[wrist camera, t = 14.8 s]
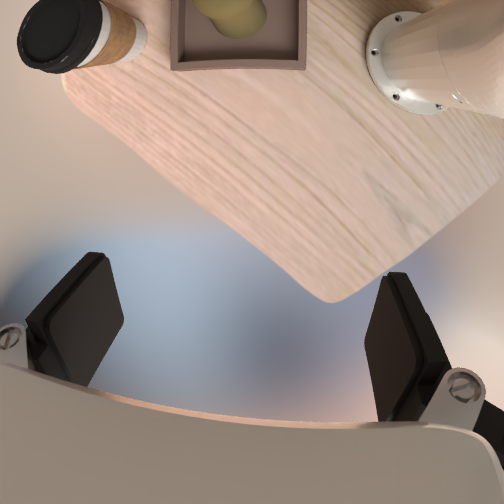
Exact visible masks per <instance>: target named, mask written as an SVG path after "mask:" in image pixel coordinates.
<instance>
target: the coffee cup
mask: <svg viewBox="0 0 504 504" xmlns="http://www.w3.org/2000/svg"><path fill="white" fill-rule="evenodd" d="M146 41H147V31H146V28H145V26H144V25H143V24H142V23H141V22H140V21H138V20H137V19H135V18H133V17H131V16H129V15H128V14H126V13H125V12H123V11H121V10H119V9H118V8H116V7H114V6H112V5H110V4H109V3H107V2H105V1H103V0H40V1H38V2H37V3H36V4H35V5H34V6H33V7H32V8H31V9H30V10H29V11H28V13H27V15H26V16H25V18H24V20H23V22H22V24H21V27H20V30H19V33H18V37H17V47H18V52H19V55H20V57H21V59H22V61H23V62H24V63H25V64H26V65H27V66H29V67H31V68H34V69H40V70H42V71H44V72H47V73H55V74H60V73H65V72H68V71H70V70H72V69H80V68H86V67H92V66H99V65H106V64H111V63H123V62H128V61H130V60H133V59H134V58H136V57H137V56H138V55H139V54H140V53H141V52H142V50H143V49H144V47H145V44H146Z"/></svg>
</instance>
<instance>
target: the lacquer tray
mask: <svg viewBox="0 0 504 504" xmlns="http://www.w3.org/2000/svg"><path fill="white" fill-rule="evenodd" d="M261 1H262V2H263V4H264V5H265V7H266V12H267V17H266V22H265V24H264V26H263V27H262V29H261V30H260V31H259V32H257V33H256V34H255V35H253V36H251V37H249V38H244V39H231V38H228V37H225V36H223V35H222V34H220V33H219V32H218V31H217V30H216V28H215V27H214V25H213V23H212V21H211V19H210V18H209V17H207V16H205V15H203V14H202V13H201V12H199V11H198V10H197V9H196V8H195V6H194V5H193V3H192V0H172V9H171V70H172V71H190V70H207V69H240V68H256V69H289V70H305V69H306V49H307V0H261Z"/></svg>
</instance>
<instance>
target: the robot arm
mask: <svg viewBox="0 0 504 504" xmlns="http://www.w3.org/2000/svg"><path fill="white" fill-rule="evenodd" d="M395 18H396V19H398V22H397V21H396V20H395ZM371 51H374V52H375V55H372V54H371ZM366 60H367V66H368V69H369V73H370V75H371V77H372V79H373V81H374V83H375V85H376V86H377V88H378V89H379V91H380V92H381V93H382V94H383V95H384V96H385V97H386V98H387V99H388V100H389V101H390V102H392V103H393V104H394V105H396V106H397V107H399V108H401V109H403V110H405V111H408V112H411V113H416V114H421V115H431V114H436V113H440V112H442V111H444V110H446V109H448V108H449V107H455V108H459V109H464V110H469V111H473V112H477V113H482V114H486V115H490V116H494V117H498V118H503V119H504V0H452V1H450V2H448V3H445V4H443V5H441V6H438V7H436V8H434V9H432V10H430V11H427V12H425V13H423V14H422V13H418V12H413V11H401V12H397V13H393V14H391V15H389V16H387V17H385V18H383V19H382V20H381V21H379V22H378V23H377V25H376V26H375V27H374V28H373V30H372V31H371V33H370V35H369V38H368V41H367V45H366ZM393 95H396V98H395V99H394V98H393ZM436 104H437V105H438V106H437V107H436ZM25 320H26V322H27V324H28V328H27V329H26V330H25V328H24V327H23V326H22V325H20V324H9V325H6V326H4V327H2V328H1V329H0V504H504V411H502V410H501V409H499V408H497V407H496V406H494V405H493V404H491V403H489V402H488V401H486V400H485V399H484V398H485V394H486V390H485V385H484V384H483V382H482V380H481V378H480V377H479V376H478V375H477V374H475V373H474V372H473V371H471V370H468V369H465V368H454V369H452V367H451V365H450V362H449V360H448V357H447V355H446V353H445V350H444V348H443V346H442V343H441V341H440V339H439V337H438V334H437V332H436V330H435V328H434V326H433V324H432V321H431V319H430V317H429V315H428V314H427V313H426V312H425V310H424V308H423V306H422V303H421V301H420V299H419V297H418V295H417V293H416V292H415V289H414V287H413V285H412V283H411V281H410V280H409V278H408V276H407V274H406V273H401V272H389V273H388V275H387V276H383V277H382V280H381V283H380V287H379V291H378V295H377V298H376V302H375V305H374V309H373V312H372V316H371V319H370V323H369V326H368V329H367V332H366V336H365V342H364V344H365V351H366V356H367V360H368V365H369V370H370V376H371V380H372V386H373V392H374V397H375V403H376V409H377V415H378V421H379V422H353V423H352V422H350V423H349V422H348V423H347V422H344V423H343V422H299V421H281V420H266V419H254V418H244V417H236V416H227V415H219V414H211V413H204V412H198V411H191V410H185V409H180V408H173V407H168V406H163V405H158V404H153V403H148V402H144V401H139V400H135V399H130V398H126V397H122V396H117V395H113V394H110V393H106V392H102V391H99V390H95V389H91V388H88V387H87V386H88V384H89V382H90V380H91V379H92V377H93V375H94V374H95V372H96V370H97V368H98V366H99V365H100V363H101V361H102V359H103V358H104V356H105V354H106V352H107V351H108V349H109V347H110V346H111V344H112V342H113V340H114V339H115V337H116V335H117V334H118V332H119V330H120V329H121V327H122V325H123V322H124V316H123V312H122V309H121V305H120V301H119V297H118V293H117V290H116V286H115V282H114V277H113V273H112V269H111V265H110V261H109V259H108V258H107V257H106V256H105V254H104V253H98V252H88V253H87V254H86V255H85V256H84V257H83V258H82V259H81V260H80V261H79V262H78V263H77V264H76V265H75V266H74V267H73V268H72V269H71V270H70V271H69V272H68V273H67V274H66V275H65V276H64V277H63V278H62V279H61V280H60V282H59V283H58V284H57V285H56V286H55V287H54V288H53V289H52V290H51V291H50V292H49V293H48V294H47V295H46V297H45V298H44V299H43V300H42V301H41V302H40V303H39V304H38V306H37V307H36V308H35V309H34V310H33V311H32V312H31V314H30V315H29V316H28V317H27V318H26V319H25Z"/></svg>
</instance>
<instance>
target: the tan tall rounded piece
mask: <svg viewBox="0 0 504 504" xmlns="http://www.w3.org/2000/svg"><path fill="white" fill-rule="evenodd" d="M192 3H193V5H194V6H195V8H196V9H197V10H198V11H199V12H201V13H202V14H203V15H205V16H207V17H209V18H210V19H211V21H212V23H213V25H214V27H215V28H216V30H217V31H218V32H219V33H220V34H222V35H223V36H225V37H228V38H231V39H244V38H249V37H251V36H253V35H255V34H256V33H257V32H259V31H260V30H261V29H262V27H263V26H264V24H265V22H266V17H267V12H266V7H265V5H264V4H263V2H262V1H261V0H192Z"/></svg>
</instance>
